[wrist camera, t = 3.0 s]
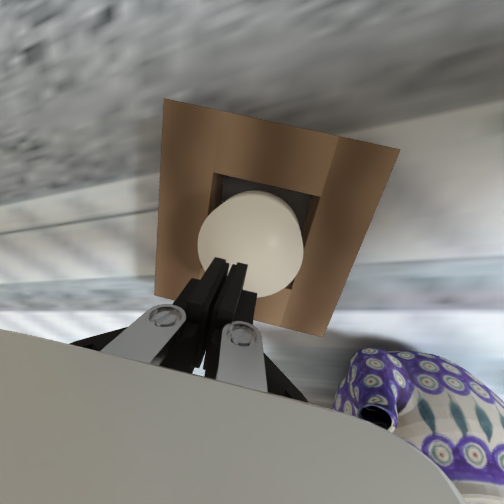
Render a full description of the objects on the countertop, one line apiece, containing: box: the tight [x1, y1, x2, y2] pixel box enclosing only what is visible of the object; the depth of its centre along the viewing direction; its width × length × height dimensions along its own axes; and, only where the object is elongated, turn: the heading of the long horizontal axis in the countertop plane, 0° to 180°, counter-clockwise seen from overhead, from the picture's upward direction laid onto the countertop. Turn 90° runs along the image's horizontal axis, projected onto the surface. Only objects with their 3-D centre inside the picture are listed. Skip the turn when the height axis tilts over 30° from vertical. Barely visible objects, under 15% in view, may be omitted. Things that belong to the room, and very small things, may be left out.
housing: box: [154, 99, 400, 337], centre depth 21 cm, size 16×16×4 cm
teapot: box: [333, 347, 504, 504], centre depth 21 cm, size 25×15×15 cm, turn 36°
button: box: [198, 190, 303, 298], centre depth 17 cm, size 7×7×4 cm
